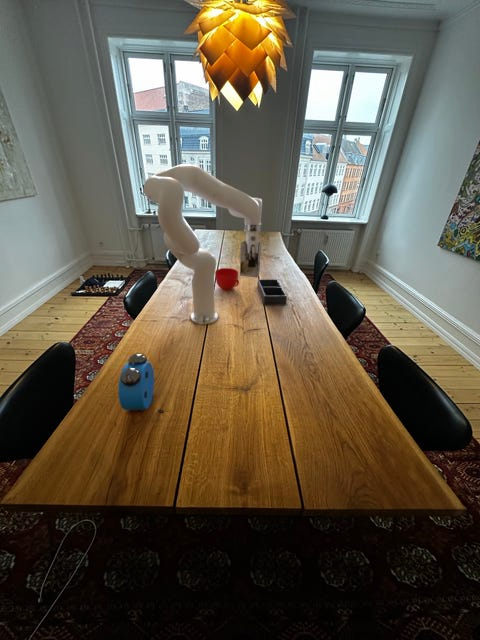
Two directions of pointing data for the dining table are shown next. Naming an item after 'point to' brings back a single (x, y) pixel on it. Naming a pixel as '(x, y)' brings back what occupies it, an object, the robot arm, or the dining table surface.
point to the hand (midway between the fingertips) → (250, 264)
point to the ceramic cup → (226, 278)
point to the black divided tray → (271, 292)
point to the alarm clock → (136, 383)
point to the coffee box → (244, 261)
